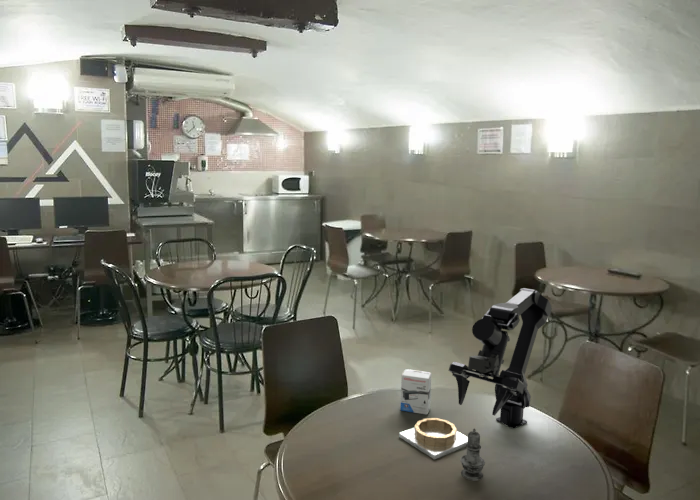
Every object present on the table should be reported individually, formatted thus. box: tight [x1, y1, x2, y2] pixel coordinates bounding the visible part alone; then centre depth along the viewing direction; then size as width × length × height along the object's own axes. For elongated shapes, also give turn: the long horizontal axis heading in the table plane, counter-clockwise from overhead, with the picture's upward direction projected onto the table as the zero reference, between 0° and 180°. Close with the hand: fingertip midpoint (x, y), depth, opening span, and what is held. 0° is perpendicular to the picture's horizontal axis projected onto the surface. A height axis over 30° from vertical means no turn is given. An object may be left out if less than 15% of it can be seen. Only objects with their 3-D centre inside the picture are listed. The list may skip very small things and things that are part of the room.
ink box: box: [399, 368, 432, 415], centre depth 168 cm, size 8×5×12 cm, turn 72°
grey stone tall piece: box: [460, 428, 486, 482], centre depth 134 cm, size 6×6×12 cm
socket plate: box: [398, 417, 468, 460], centre depth 150 cm, size 14×14×4 cm
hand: (476, 409), depth 140 cm, fingers open, 9 cm apart
